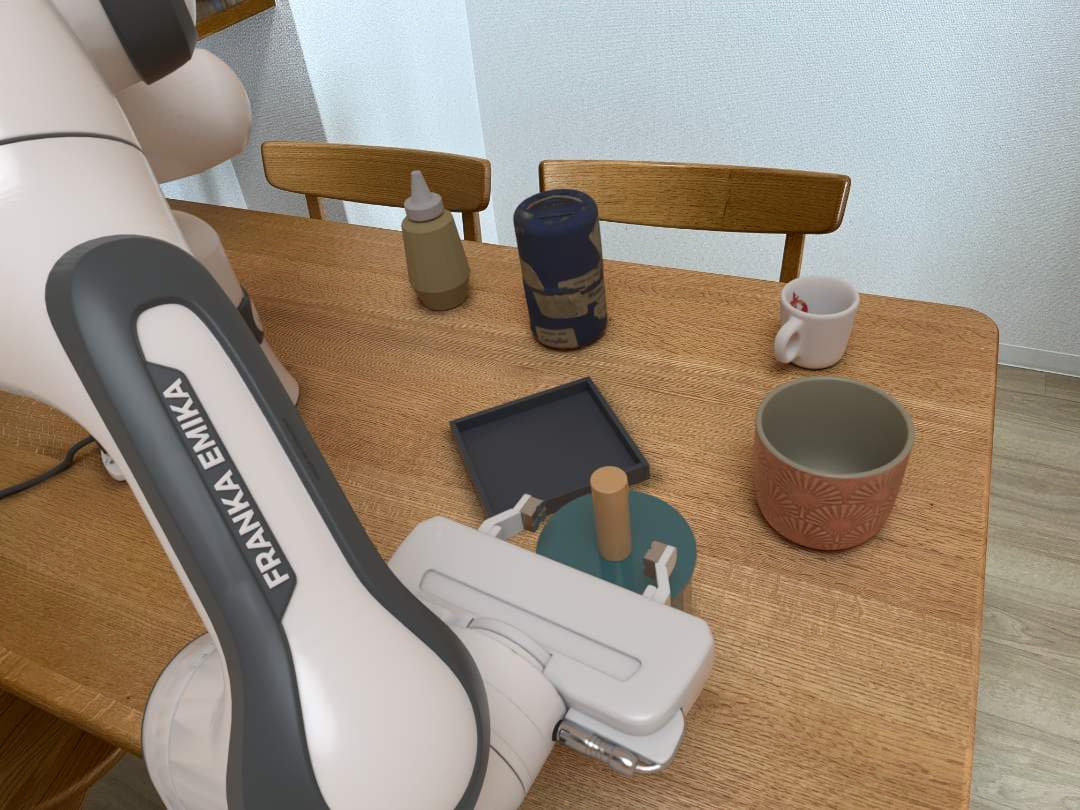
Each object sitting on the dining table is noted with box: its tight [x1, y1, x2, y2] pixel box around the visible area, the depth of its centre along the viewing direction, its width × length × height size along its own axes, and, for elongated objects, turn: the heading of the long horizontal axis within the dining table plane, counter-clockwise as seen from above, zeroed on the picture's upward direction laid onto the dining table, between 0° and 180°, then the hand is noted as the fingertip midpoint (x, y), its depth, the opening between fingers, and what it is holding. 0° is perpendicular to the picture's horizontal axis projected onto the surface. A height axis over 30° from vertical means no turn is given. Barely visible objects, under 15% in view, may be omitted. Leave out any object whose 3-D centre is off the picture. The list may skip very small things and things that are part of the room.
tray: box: [448, 375, 651, 519], centre depth 82 cm, size 16×15×2 cm
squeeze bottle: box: [400, 169, 471, 311], centre depth 102 cm, size 8×8×18 cm
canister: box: [512, 188, 608, 350], centre depth 93 cm, size 10×10×18 cm
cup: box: [773, 274, 861, 370], centre depth 87 cm, size 11×8×8 cm
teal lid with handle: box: [535, 466, 698, 603], centre depth 54 cm, size 11×11×8 cm
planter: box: [753, 375, 916, 551], centre depth 70 cm, size 12×12×11 cm
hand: (599, 525), depth 53 cm, fingers open, 8 cm apart
